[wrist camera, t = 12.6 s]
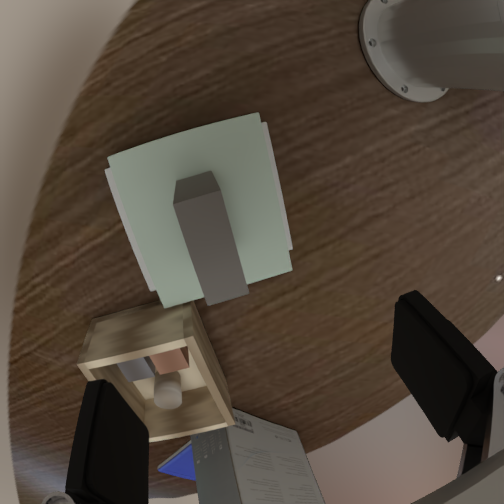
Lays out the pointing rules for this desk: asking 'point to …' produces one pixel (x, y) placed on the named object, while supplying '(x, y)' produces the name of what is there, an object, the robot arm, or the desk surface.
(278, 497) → the hard drive box
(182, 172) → the lid
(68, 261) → the desk surface
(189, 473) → the hard drive
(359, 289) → the desk surface
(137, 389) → the crate
